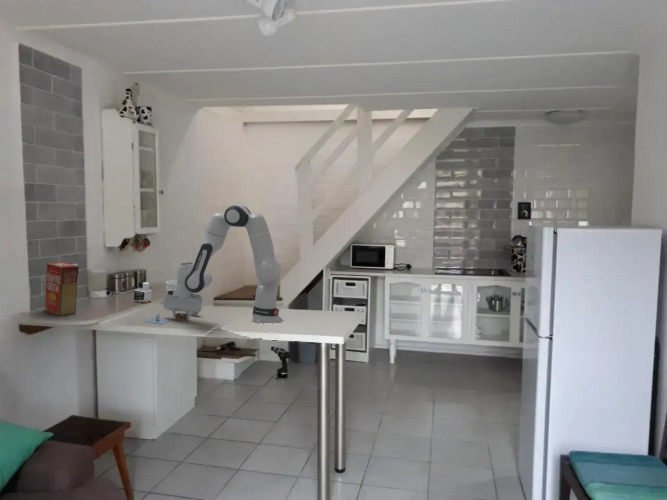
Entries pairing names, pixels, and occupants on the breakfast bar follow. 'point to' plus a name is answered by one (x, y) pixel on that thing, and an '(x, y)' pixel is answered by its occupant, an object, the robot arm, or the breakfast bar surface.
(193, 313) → the donut
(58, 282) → the food packaging
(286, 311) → the breakfast bar surface
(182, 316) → the ring
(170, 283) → the cup
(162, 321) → the hub
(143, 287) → the medicine bottle
